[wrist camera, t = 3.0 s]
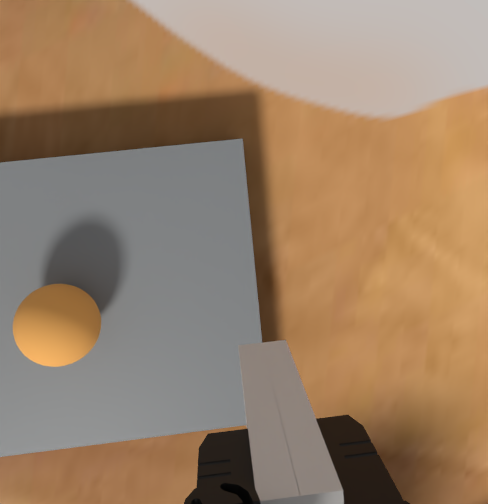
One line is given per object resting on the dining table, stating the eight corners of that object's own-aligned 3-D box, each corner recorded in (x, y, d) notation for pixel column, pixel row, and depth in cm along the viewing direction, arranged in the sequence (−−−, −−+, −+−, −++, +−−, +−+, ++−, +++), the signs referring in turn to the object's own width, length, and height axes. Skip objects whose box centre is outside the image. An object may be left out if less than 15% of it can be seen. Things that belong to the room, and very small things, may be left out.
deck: (-196, 458, 28) (-236, 487, 25) (-286, 192, 24) (-341, 196, 22) (265, 399, 29) (269, 422, 26) (239, 140, 26) (242, 138, 23)
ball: (39, 350, 25) (7, 387, 21) (24, 279, 24) (-12, 303, 20) (114, 341, 25) (96, 376, 21) (102, 270, 24) (81, 292, 20)
